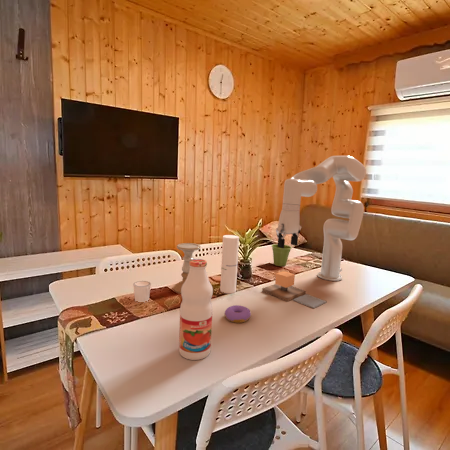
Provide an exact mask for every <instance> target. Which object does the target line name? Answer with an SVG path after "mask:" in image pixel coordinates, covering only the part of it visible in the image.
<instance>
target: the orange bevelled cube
mask: <svg viewBox="0 0 450 450" xmlns="http://www.w3.org/2000/svg"><path fill="white" fill-rule="evenodd" d="M295 274H296V273H295ZM295 274H294V273H292V272H289V271H285V270H282V271H279V272H276V273H275V281H274V282H275V283H274V284H277V285H280V286H282V287H285V288H287V287H290V286H293V287H294V286H295V280H296V279H295V277H296V275H295Z"/></svg>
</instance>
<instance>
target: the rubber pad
mask: <svg viewBox="0 0 450 450" xmlns="http://www.w3.org/2000/svg"><path fill="white" fill-rule="evenodd" d="M292 301H293V302H296V303H298V304H302V305H303V306H307V307H309V308H310V309H316V308H318V307H320V306H322V305H325V304H326V303H327V300H324V299H321V298H318V297H315V296H314V295H313V296H312V295H310V294H307V293H306V294H305V295H302V296H300V297H297V298H295V299H292Z"/></svg>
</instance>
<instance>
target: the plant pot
mask: <svg viewBox="0 0 450 450" xmlns="http://www.w3.org/2000/svg"><path fill="white" fill-rule="evenodd" d="M292 247H293V246H292V245H287V244H284V248H280V247H278V243H277V244H271V248H272V257H273V265H275V266H277V267H285V266H286V265H287V262H288V258H289V257H290V253H291V249H292Z"/></svg>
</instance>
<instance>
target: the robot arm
mask: <svg viewBox="0 0 450 450" xmlns="http://www.w3.org/2000/svg"><path fill="white" fill-rule="evenodd" d="M366 176H367V169H366V166H365V165H364V164H363V163H362V162H360V161H359V160H358V159H356V158H355V157H353V156H350V155H331V156H329V157H328V158H326V159H325V160H323V161H322V162H320V163H318V164H317V166H314V167H311V168H308V169H305V170H302V171H300V172H297V173H296V174H294V175H293V176H291V177H290V178H287V179H285V181H284V185H283V196H282V208H281V211H280V214H279V218H278V224H277V227H276V228H275V232H276V236H277V244H278V247H280V248H284V245H286V244H285V243H286V242H285V241H286V240H285V237H286V235H291V237H290V246H296V247H297V246H298V241H299V236H300V233H301V229H302V225H300V221H301V220H300V218H301V217H300V216H301V215H300V209H301V202H302V201H301V199H302V197H306V198H309V197H313V196H314V195H315V194H316V193H317V192H318V185H320V184H324V183H326V182H328V181H329V180H330V179H331V178H332V179H333V182H334V184H335V192H334V197H333V201H332V204H331V208H330V209H331V214H332V215H333V216H335V217H339V218H328V219H326V221H325V222H324V223H323V246H322V247H323V249H322V257H321V264H320V265H321V267H320V271H319V272H317V275H316V276H317V277H318V278H320V279H322V280H325V281H332V282H339V281H341V280H342V281H343V276H342V275H341V274H340V272H341V273H342V272H343V268H341V265H342V263H341V262H342V254H343V242H342V240H347V241H354V240H355V239H357V237H358V236H359V233H360V232H359V231H360V228H361V225H362V221H363V217H364V212H365V208H364V207H365V206H364V203H362V201H360V200H356V199H352V197H353V193H354V189H353V186H352V185H351V183H350V182H361V181H363V180H364V179H365V178H366ZM340 218H343V219H340ZM344 219H348V220H344ZM341 239H342V240H341Z"/></svg>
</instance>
